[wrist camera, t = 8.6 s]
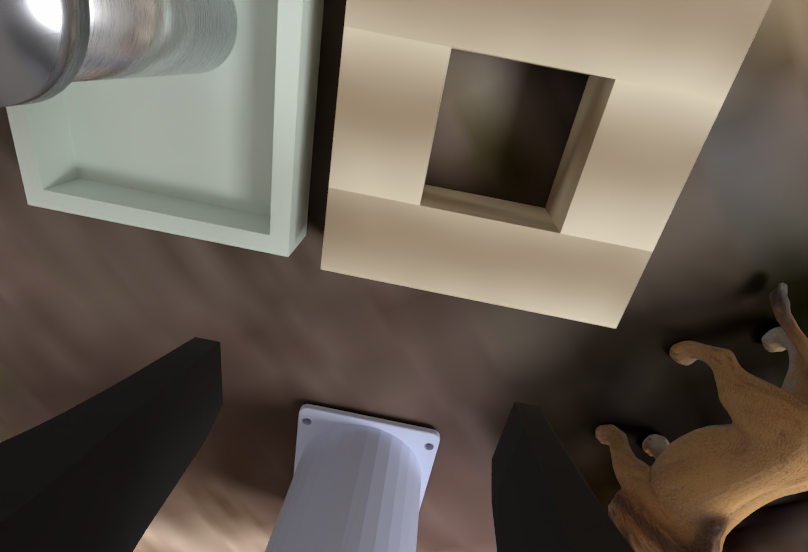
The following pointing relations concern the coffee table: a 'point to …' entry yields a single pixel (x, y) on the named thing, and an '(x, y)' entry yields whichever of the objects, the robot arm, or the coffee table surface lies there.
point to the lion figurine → (718, 451)
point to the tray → (190, 139)
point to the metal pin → (107, 42)
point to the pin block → (580, 164)
